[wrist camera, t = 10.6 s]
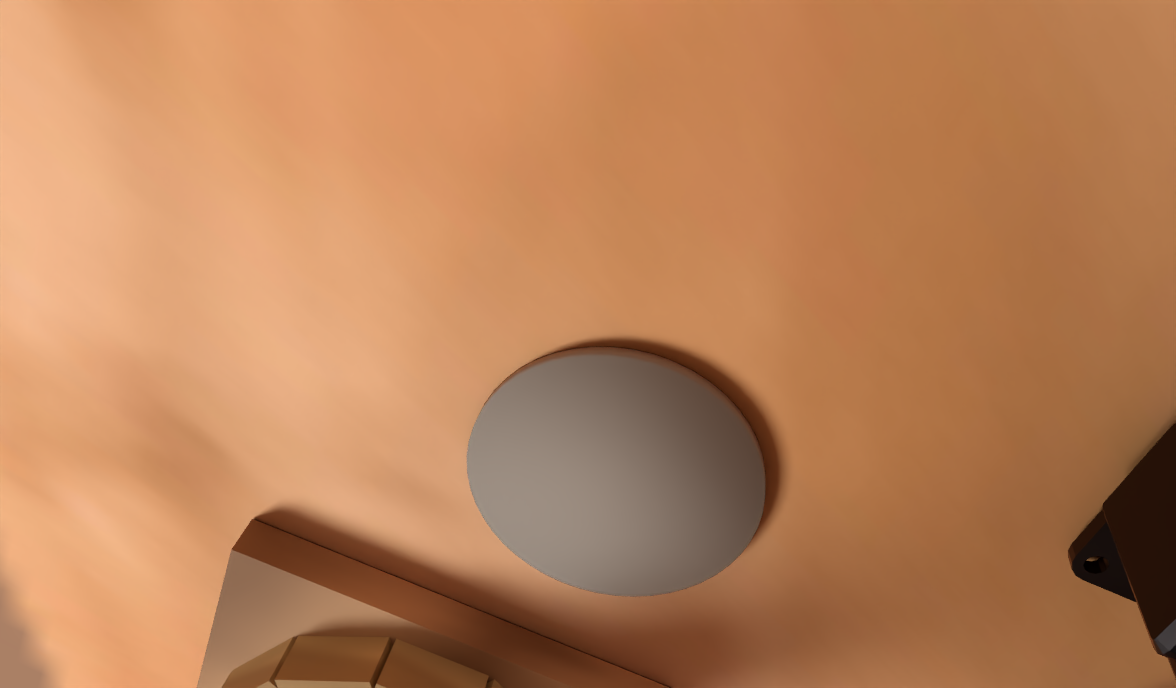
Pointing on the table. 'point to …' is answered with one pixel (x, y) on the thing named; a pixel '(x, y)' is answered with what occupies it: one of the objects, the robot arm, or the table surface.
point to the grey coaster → (617, 471)
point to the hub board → (369, 630)
